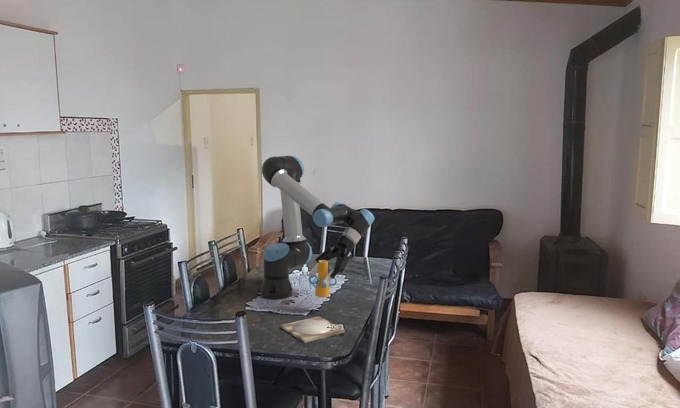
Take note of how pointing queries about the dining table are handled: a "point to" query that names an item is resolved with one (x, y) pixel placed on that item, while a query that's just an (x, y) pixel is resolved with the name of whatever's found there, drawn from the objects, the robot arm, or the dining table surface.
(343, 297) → the dining table surface
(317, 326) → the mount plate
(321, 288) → the orange post with rings
